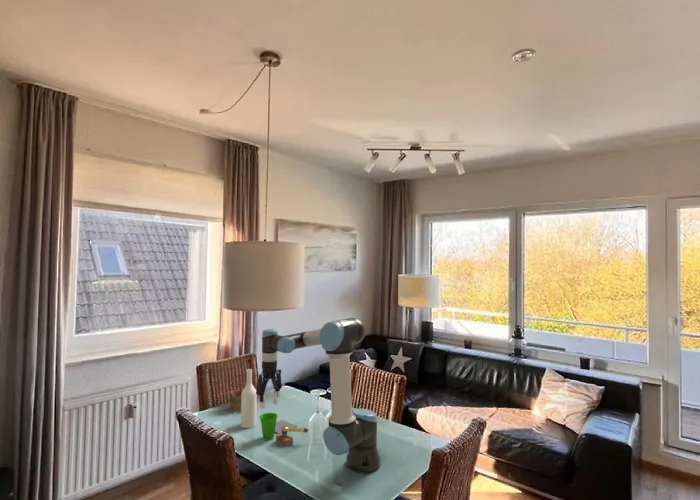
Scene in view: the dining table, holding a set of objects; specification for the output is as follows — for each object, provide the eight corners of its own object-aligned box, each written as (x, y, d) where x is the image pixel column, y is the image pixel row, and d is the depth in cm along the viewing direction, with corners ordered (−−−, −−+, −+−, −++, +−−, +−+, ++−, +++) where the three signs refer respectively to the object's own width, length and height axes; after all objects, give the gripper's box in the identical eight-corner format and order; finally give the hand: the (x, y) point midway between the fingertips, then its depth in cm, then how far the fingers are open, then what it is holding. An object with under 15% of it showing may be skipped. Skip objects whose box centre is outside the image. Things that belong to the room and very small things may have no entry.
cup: (273, 443, 191) (273, 420, 191) (256, 441, 193) (256, 418, 193) (280, 434, 200) (280, 413, 200) (263, 433, 202) (264, 411, 202)
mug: (256, 413, 227) (256, 392, 227) (225, 412, 227) (226, 392, 228) (260, 405, 239) (261, 385, 239) (232, 405, 239) (232, 385, 239)
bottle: (245, 429, 205) (245, 372, 206) (238, 424, 211) (239, 369, 212) (259, 425, 211) (259, 369, 211) (252, 420, 217) (252, 366, 217)
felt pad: (296, 426, 209) (296, 426, 209) (279, 434, 200) (279, 433, 200) (282, 420, 217) (282, 419, 217) (264, 427, 208) (264, 426, 208)
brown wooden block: (293, 443, 190) (293, 434, 190) (286, 446, 187) (286, 437, 187) (282, 438, 196) (282, 429, 196) (276, 441, 192) (276, 432, 193)
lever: (281, 432, 191) (281, 428, 191) (282, 430, 194) (282, 425, 194) (307, 433, 190) (307, 429, 190) (308, 431, 193) (308, 426, 193)
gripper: (280, 355, 207) (279, 398, 207) (248, 362, 192) (247, 409, 192) (289, 357, 202) (289, 402, 202) (257, 365, 187) (257, 413, 187)
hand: (268, 405), depth 197 cm, fingers open, 7 cm apart
